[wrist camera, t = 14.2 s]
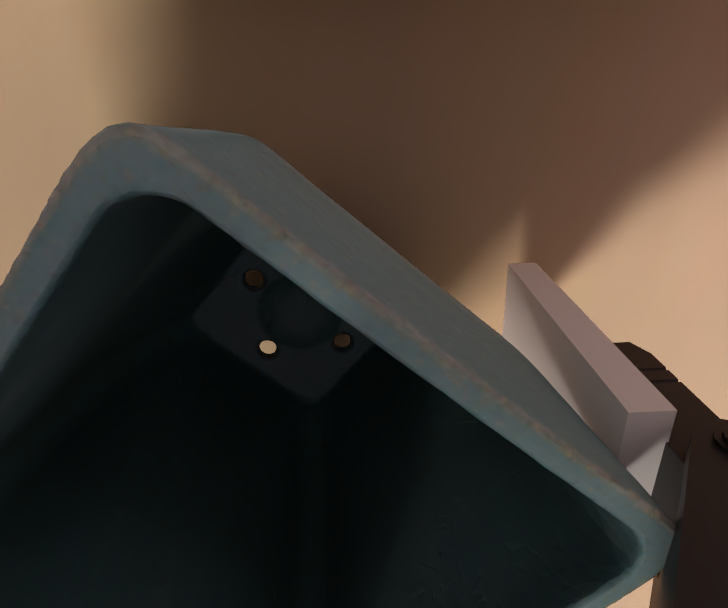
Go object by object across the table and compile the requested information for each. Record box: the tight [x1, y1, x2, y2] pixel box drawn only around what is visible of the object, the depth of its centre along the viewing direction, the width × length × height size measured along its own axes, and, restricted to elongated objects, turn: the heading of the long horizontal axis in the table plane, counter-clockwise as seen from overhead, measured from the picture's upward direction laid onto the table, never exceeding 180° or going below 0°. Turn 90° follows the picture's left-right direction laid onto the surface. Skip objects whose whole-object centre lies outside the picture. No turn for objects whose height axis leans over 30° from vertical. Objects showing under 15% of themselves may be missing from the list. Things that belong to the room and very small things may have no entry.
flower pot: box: [0, 122, 676, 608], centre depth 11 cm, size 9×9×9 cm
